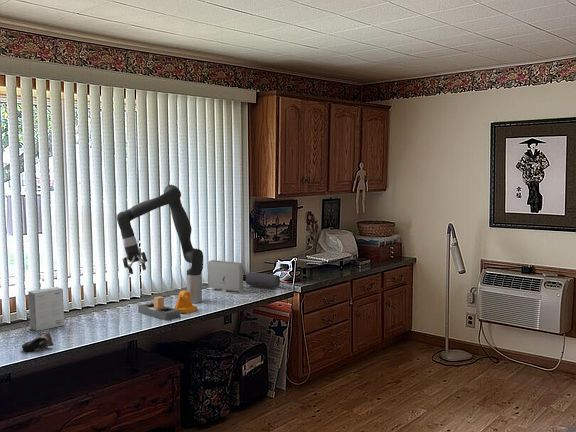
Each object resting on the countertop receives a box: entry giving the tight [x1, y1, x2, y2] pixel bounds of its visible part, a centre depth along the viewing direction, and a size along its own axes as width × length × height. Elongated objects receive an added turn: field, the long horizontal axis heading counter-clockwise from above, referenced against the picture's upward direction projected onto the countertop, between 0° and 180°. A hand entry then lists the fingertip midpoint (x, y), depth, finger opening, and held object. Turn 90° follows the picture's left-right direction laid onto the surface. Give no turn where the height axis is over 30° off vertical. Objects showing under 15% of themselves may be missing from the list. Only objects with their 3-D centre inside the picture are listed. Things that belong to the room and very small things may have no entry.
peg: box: [153, 295, 165, 309], centre depth 339 cm, size 4×4×10 cm
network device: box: [207, 259, 244, 295], centre depth 399 cm, size 26×9×20 cm, turn 62°
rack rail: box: [137, 302, 181, 322], centre depth 339 cm, size 26×10×4 cm, turn 48°
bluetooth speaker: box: [245, 272, 281, 290], centre depth 411 cm, size 23×9×10 cm, turn 66°
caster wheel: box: [21, 332, 55, 353], centre depth 277 cm, size 7×11×10 cm
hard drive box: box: [27, 286, 65, 332], centre depth 313 cm, size 16×8×20 cm, turn 135°
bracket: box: [174, 290, 198, 314], centre depth 346 cm, size 11×7×12 cm, turn 134°
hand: (138, 272), depth 347 cm, fingers open, 8 cm apart
